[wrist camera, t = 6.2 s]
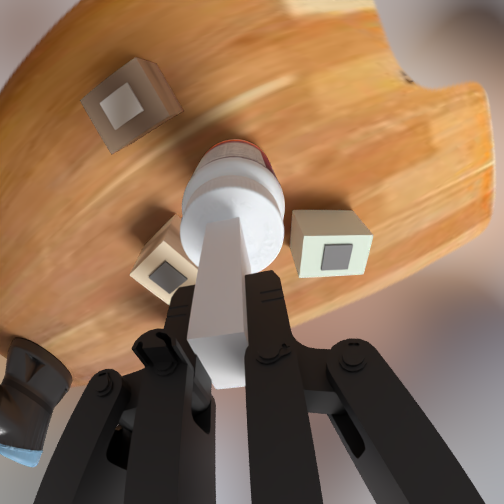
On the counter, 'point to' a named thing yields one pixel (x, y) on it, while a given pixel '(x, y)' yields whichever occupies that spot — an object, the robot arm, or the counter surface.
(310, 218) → the sage block
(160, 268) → the beech block
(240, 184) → the pill bottle
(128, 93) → the walnut block
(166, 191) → the counter surface
